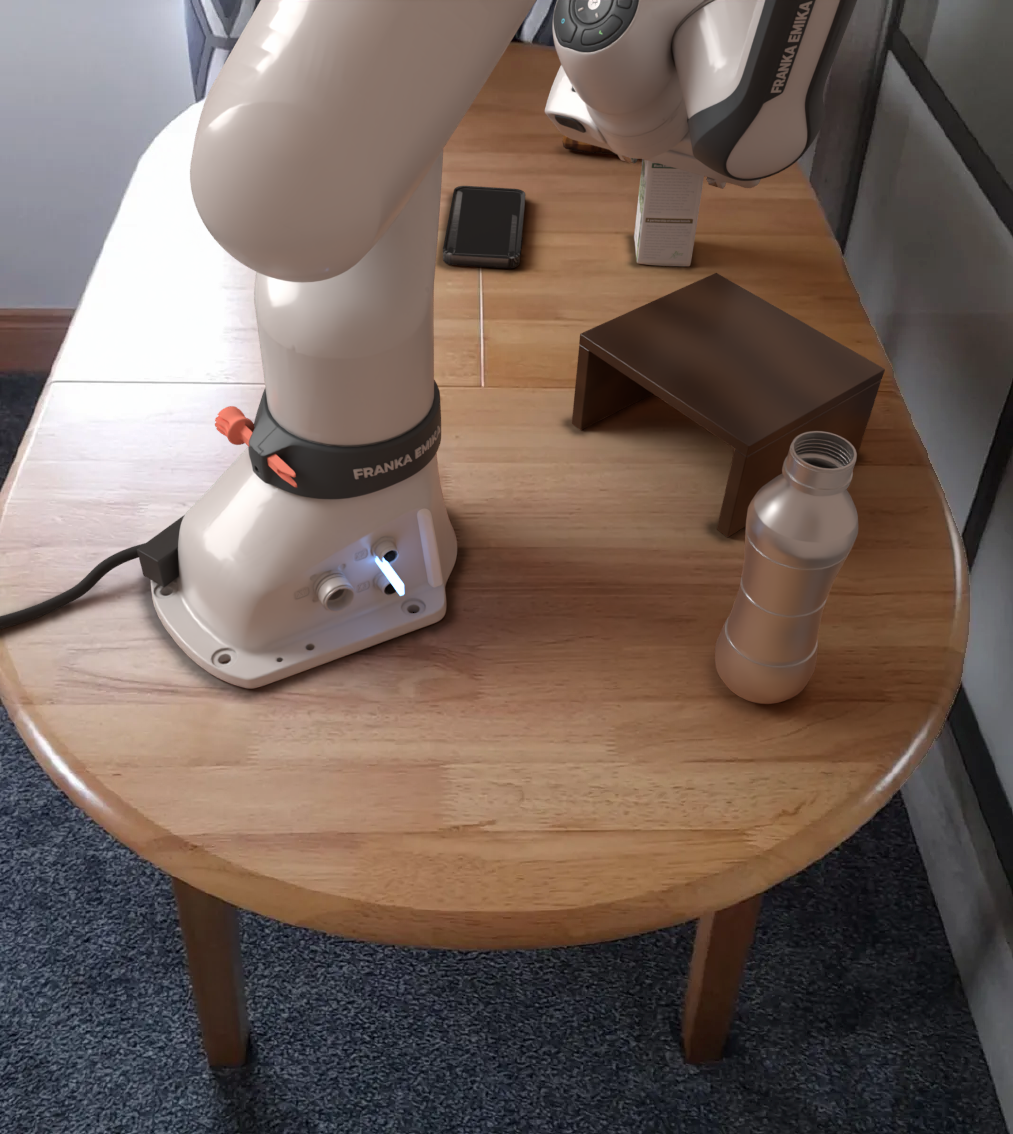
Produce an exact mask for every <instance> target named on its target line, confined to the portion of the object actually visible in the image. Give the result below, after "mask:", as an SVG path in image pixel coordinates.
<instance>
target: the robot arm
mask: <svg viewBox="0 0 1013 1134" xmlns="http://www.w3.org/2000/svg"><path fill="white" fill-rule="evenodd" d="M536 2H537V0H260V1H259V3H258V4H257V6H256V8H255V9H254V11H253V13H252V14H251V17H250V18H249V20H248V22H247V24H246V25H245V26H244V28H243V31H242V32H241V34H240V36H239V37H238V39H237V41H236V42H235V44H234V46H233V48H232V50H231V52H230V53H229V55H228V56H227V59H226V61H225V62H224V63H223V65H222V67H221V69H220V71H219V73H218V74H217V77H216V78H215V80H214V82H213V84H212V85H211V87H210V89H209V91H208V93H207V96H206V98H205V100H204V102H203V107H202V110H201V113H200V116H199V119H198V123H197V127H196V131H195V135H194V136H195V137H194V142H193V148H192V153H191V158H190V159H191V160H190V164H189V167H190V168H189V183H190V190H191V195H192V200H193V202H194V206H195V208H196V210H197V212H198V213H197V214H198V215H199V218H200V219H201V221H202V223H203V225H204V227H205V228H206V229H207V231H208V232H209V234H210V235H211V236H212V238H213V239H214V240H215V242H216V243H217V244H218V245H219V246H220V247H221V248H222V249H223V250H224V251H225V252H226V253H227V254H228V255H230V256H231V257H232V258H234V259H235V260H236V261H237V262H239V263H240V264H241V265H244V266H245V267H247V268H248V269H250V270H252V271H254V272H255V278H254V286H253V303H254V311H255V319H256V320H255V321H256V327H257V328H256V329H257V335H258V341H259V342H258V343H259V350H260V359H261V367H262V374H263V381H264V389H263V392H262V394H261V398H260V401H259V404H258V408H257V410H256V414H255V418H254V422H253V420H251V418H248V417H246V415H245V414H244V413H243V411H242V410H241V409H240V408H238V406H234V405H229V406H226V407H224V408H222V409H221V410H220V411H219V412H218V413H217V416H216V417H215V419H214V422H215V423H214V426H215V430H216V431H217V432H219V433H220V434H221V435H223V436H225V437H226V438H227V440H228V442H229V443H230V444H232V445H233V446H240V445H244V444H245V445H246V446H248V447H246V449H244V450H243V452H241V454H239V456H238V457H237V458H236V459H235V460H234V461H233V462H232V463H231V464H230V466H228V468H226V470H225V471H224V472H223V473H222V474H221V475H220V477H219V478H217V479H216V481H215V482H214V483H213V484H212V485H211V486H210V487H209V488H208V489H207V490H206V491H205V492H204V494H202V496H201V497H200V498H198V500H196V502H194V504H193V505H192V506H190V508H189V509H187V511H186V512H185V514H184V515H182V516H181V517H180V518H178V519H177V520H175V521H174V522H173V523H171V524H170V525H168V526H167V527H165V528H164V529H163V530H162V531H160V532H159V533H158V534H156V535H155V536H153V537H152V538H150V539H149V540H148V541H146V542H144V543H140V544H137V545H134V546H131V547H128V548H125V549H123V550H121V551H118V552H116V553H114V554H112V555H109V556H108V557H107V558H105V559H104V560H102V561H101V562H99V563H98V564H97V565H96V566H94V568H93V569H91V571H89V573H88V574H87V575H85V577H83V578H82V579H81V581H79V582H78V583H77V584H75V585H74V586H73V587H70V588H69V589H67V590H65V591H63V592H61V593H60V594H57V595H55V596H53V597H52V598H48V599H47V600H45V601H43V602H40V603H38V604H34V605H32V606H29V607H27V608H24V609H21V610H18V611H14V612H11V613H6V614H4V615H0V630H2V629H5V628H9V627H13V626H16V625H20V624H22V623H26V622H29V621H31V620H34V619H35V620H36V619H38V618H40V617H42V616H44V615H47V614H50V613H52V612H54V611H57V610H58V609H60V608H63V607H64V606H67V605H68V604H71V603H72V602H75V601H76V600H79V599H80V598H81V597H83V596H84V595H85V594H87V593H88V592H89V591H90V590H91V589H92V588H94V586H95V585H96V584H98V582H99V581H100V580H101V579H103V578H104V577H105V576H106V575H107V574H108V573H109V572H110V571H112V570H113V569H115V568H117V567H118V566H121V565H123V564H125V563H127V562H130V561H132V560H136V559H139V563H140V564H139V565H140V567H141V571H142V576H144V577H146V578H147V579H148V580H150V591H151V600H152V603H153V609H154V610H155V612H156V615H157V617H158V619H159V621H160V623H161V624H162V626H163V627H164V629H165V630H166V632H167V633H168V635H169V636H170V637H171V638H172V640H173V642H174V643H176V645H177V646H178V647H179V648H180V649H181V650H182V652H184V653H185V655H186V656H188V657H189V659H191V660H192V661H193V662H194V663H195V664H196V665H197V666H199V667H200V668H201V669H203V670H204V671H205V672H207V673H208V674H210V675H212V676H213V677H215V678H217V679H219V680H221V681H224V682H226V683H228V684H231V685H234V686H236V687H240V688H244V689H248V690H249V689H250V690H252V689H258V688H261V687H264V686H267V685H270V684H273V683H275V682H278V681H280V680H284V679H286V678H289V677H292V676H294V675H297V674H300V673H302V672H303V673H304V672H306V671H308V670H311V669H314V668H316V667H319V666H322V665H324V664H327V663H330V662H332V661H335V660H338V659H340V658H341V659H342V658H344V657H346V656H349V655H351V654H355V653H357V652H361V651H362V650H366V649H368V648H371V647H373V646H376V645H378V644H381V643H384V642H388V641H390V640H392V639H396V638H398V637H400V636H403V635H405V634H409V633H411V632H414V631H417V630H419V629H422V628H425V627H428V626H430V625H433V624H436V623H438V622H440V621H441V620H442V619H443V618H444V617H445V615H446V613H447V606H448V605H447V594H446V586H447V582H448V579H449V578H450V575H451V574H452V571H453V569H454V567H455V564H456V561H457V555H458V540H457V535H456V531H455V530H454V527H453V525H452V523H451V521H450V517H449V514H448V511H447V507H446V504H445V500H444V499H445V498H444V495H443V490H442V484H441V478H440V471H439V463H438V450H439V448H440V445H441V442H442V408H441V394H440V393H441V392H440V387H439V385H438V383H437V381H436V379H435V317H434V316H435V314H434V313H435V311H434V310H435V308H434V307H435V304H434V303H435V299H434V298H435V279H436V278H435V277H436V266H437V265H436V264H437V251H438V241H439V238H438V237H439V227H440V224H439V223H440V211H441V197H442V184H443V183H442V182H443V164H444V163H443V162H444V149H445V147H446V146H447V143H448V142H449V141H450V139H451V138H452V136H453V135H454V133H455V131H456V130H457V128H458V127H459V125H460V123H461V122H462V121H463V119H464V117H465V115H466V114H467V113H468V111H469V110H470V108H471V106H472V105H473V103H474V101H475V100H476V98H477V96H478V95H479V93H480V92H481V90H482V89H483V87H484V85H486V83H487V81H488V79H489V77H490V76H491V75H492V73H493V71H494V70H495V68H496V66H497V65H498V63H499V61H500V60H501V58H502V56H503V55H504V53H505V52H506V51H507V48H508V47H509V45H510V43H511V42H512V40H513V39H514V37H515V35H516V34H517V32H518V31H519V28H520V27H521V26H522V24H523V22H524V21H525V19H526V18H527V16H528V14H529V13H530V11H531V10H532V8H533V6H534V5H535V4H536ZM857 3H858V0H556V3H555V6H554V10H553V15H552V38H553V44H554V48H555V51H556V54H557V57H558V59H559V62H560V66H559V69H558V70H557V73H556V75H555V77H554V80H553V82H552V84H551V88H550V91H549V94H548V97H547V100H546V104H545V108H544V114H545V115H546V116H547V118H548V119H549V120H550V121H551V123H552V124H553V126H554V127H555V128H556V130H557V131H558V132H559V133H560V134H561V135H563V136H564V135H565V136H566V137H568V138H570V139H573V140H576V141H580V142H584V143H587V144H591V145H595V146H598V147H602V148H605V149H609V150H610V151H612V152H614V153H615V154H617V155H616V156H617V157H618V158H619V159H620V161H623V162H626V163H629V164H636V162H637V161H638V160H643V159H645V160H648V161H652V162H655V163H659V164H662V165H666V166H670V167H673V168H677V169H680V170H684V171H687V172H691V173H695V174H698V175H702V176H704V178H706V179H705V180H706V182H707V183H708V186H711V187H715V188H718V189H722V190H723V189H725V187H726V185H727V184H730V185H735V186H738V187H741V188H744V189H752V188H754V187H757V186H758V185H759V183H760V182H761V180H764V179H767V178H769V177H773V176H775V175H777V174H779V173H781V172H783V171H786V170H787V169H788V168H790V167H792V166H793V165H794V164H795V163H796V162H798V161H799V160H800V159H801V158H802V157H803V156H804V154H805V153H806V152H807V151H808V149H809V148H810V147H811V146H812V144H813V143H814V141H815V139H816V138H817V135H818V134H819V132H820V130H821V128H822V127H823V124H824V121H825V120H826V116H827V115H826V114H827V113H826V107H825V103H824V89H825V85H826V83H827V80H828V77H829V75H830V71H831V69H832V67H833V64H834V61H835V59H836V56H837V53H838V51H839V48H840V46H841V43H842V41H843V39H844V36H845V33H846V31H847V28H848V25H849V23H850V21H851V18H852V15H853V12H854V10H855V7H856V6H857ZM615 154H614V155H615ZM413 612H414V613H413Z"/></svg>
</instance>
